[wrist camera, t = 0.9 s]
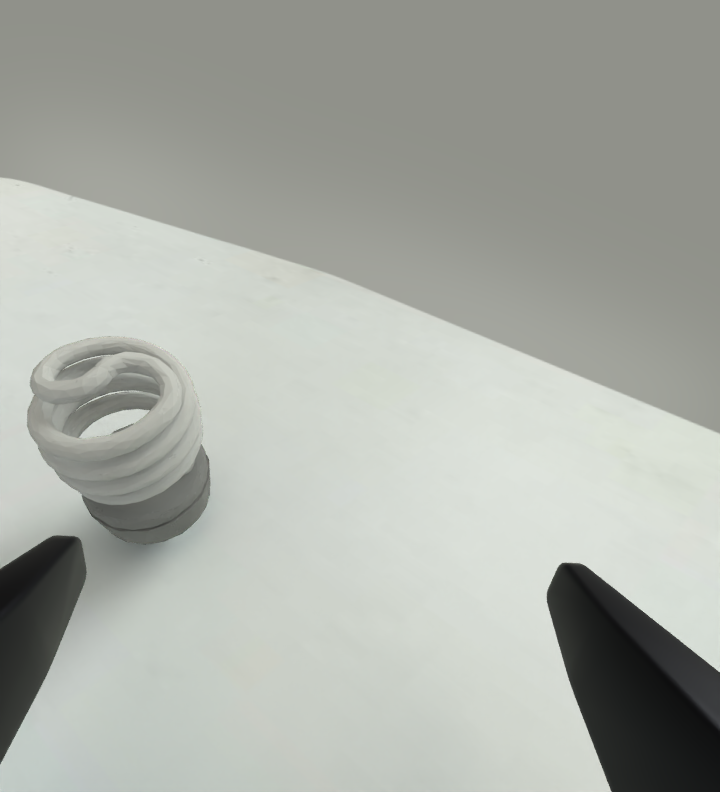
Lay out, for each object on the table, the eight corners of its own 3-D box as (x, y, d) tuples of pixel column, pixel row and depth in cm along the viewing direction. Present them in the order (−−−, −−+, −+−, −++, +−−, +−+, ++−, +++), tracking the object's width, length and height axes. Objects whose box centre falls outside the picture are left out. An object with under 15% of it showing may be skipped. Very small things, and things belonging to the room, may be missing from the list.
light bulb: (99, 576, 22) (-30, 443, 13) (117, 474, 25) (25, 309, 16) (220, 562, 23) (184, 431, 14) (221, 466, 27) (193, 309, 17)
